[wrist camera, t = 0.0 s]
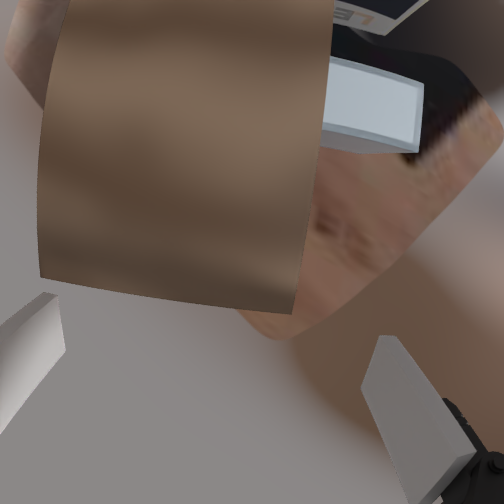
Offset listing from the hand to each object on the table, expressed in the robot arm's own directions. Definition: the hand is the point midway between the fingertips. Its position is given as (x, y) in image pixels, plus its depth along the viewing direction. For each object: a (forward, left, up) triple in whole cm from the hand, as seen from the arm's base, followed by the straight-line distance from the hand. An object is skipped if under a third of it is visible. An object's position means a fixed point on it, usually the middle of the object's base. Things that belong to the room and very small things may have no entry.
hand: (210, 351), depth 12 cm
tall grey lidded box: (-13, +9, -28) cm, 32 cm away
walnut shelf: (-13, -3, -28) cm, 31 cm away
